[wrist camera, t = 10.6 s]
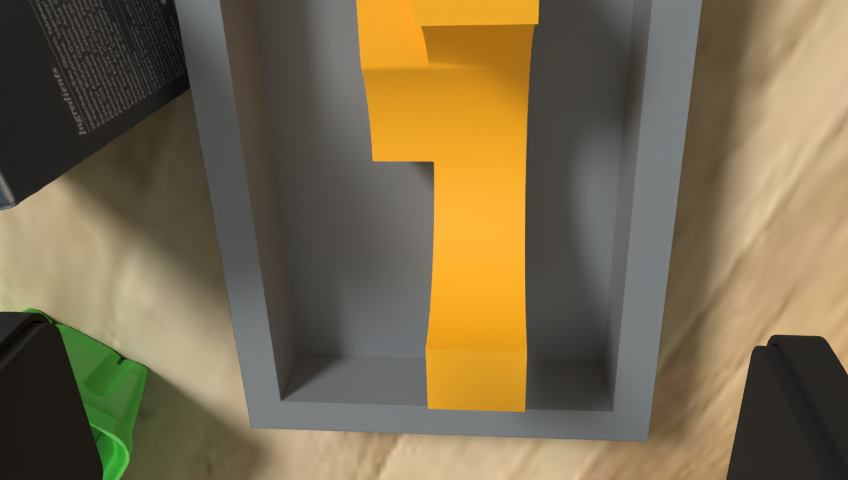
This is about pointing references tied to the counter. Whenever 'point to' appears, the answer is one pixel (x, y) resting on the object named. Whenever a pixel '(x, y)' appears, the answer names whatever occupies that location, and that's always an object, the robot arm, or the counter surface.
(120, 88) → the box
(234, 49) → the tray
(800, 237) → the counter surface
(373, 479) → the counter surface
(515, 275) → the orange toy block
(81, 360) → the fruit basket
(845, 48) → the counter surface
